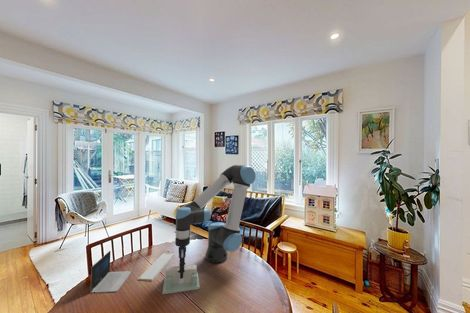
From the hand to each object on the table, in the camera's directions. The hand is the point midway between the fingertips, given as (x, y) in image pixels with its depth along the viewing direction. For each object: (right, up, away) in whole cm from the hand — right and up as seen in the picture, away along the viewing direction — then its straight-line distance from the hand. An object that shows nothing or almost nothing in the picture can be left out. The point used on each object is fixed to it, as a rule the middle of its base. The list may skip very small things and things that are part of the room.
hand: (181, 280), depth 107 cm
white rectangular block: (0, 0, 0) cm, 0 cm away
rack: (0, -1, 0) cm, 1 cm away
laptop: (-37, -1, 0) cm, 37 cm away
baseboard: (-20, -2, +17) cm, 26 cm away
